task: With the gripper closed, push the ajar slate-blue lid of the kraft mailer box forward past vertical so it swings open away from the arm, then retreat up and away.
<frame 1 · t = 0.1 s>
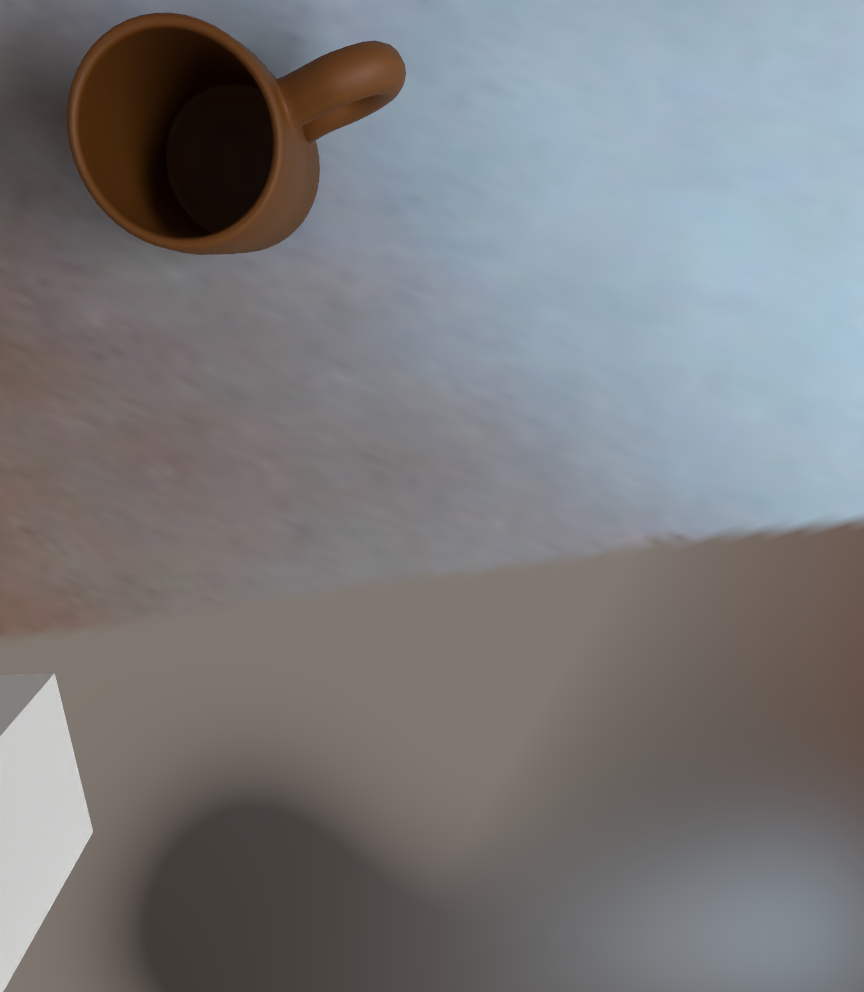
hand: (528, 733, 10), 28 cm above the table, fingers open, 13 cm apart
mug: (285, 149, 33), on the table
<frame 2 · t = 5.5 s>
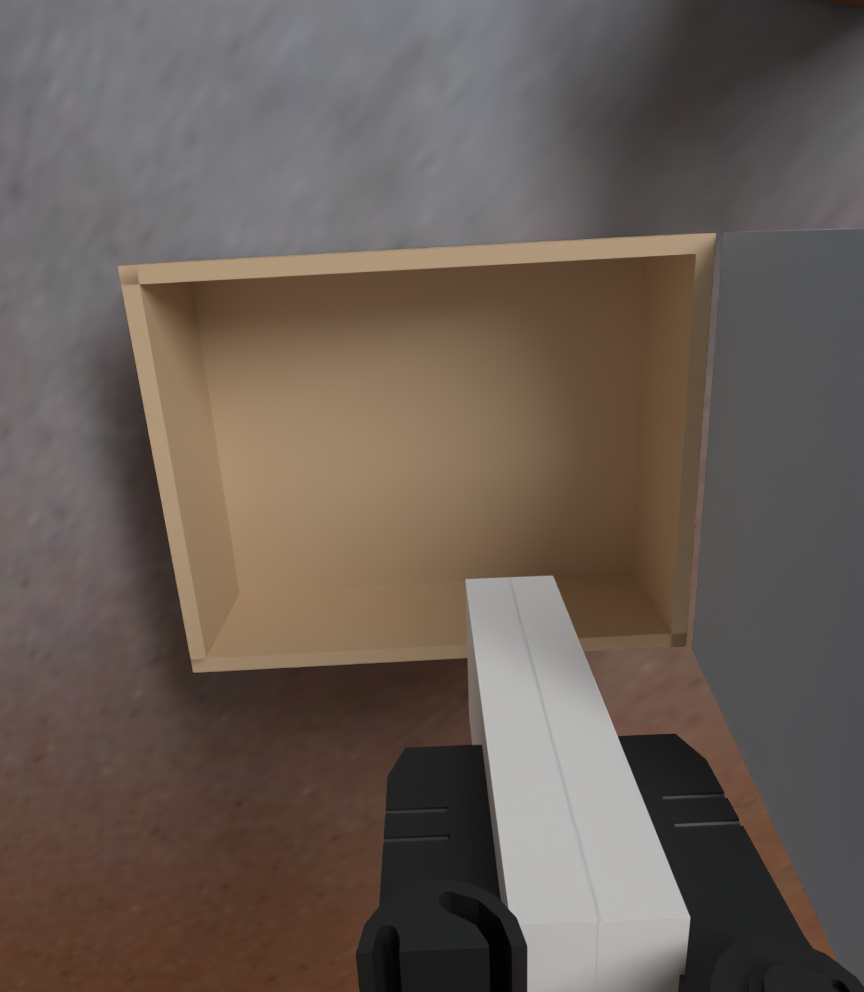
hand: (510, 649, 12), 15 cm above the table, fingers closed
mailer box: (427, 432, 26), on the table
lid: (781, 590, 14), point 13 cm above the table, hinge at 84.0°, touching gripper
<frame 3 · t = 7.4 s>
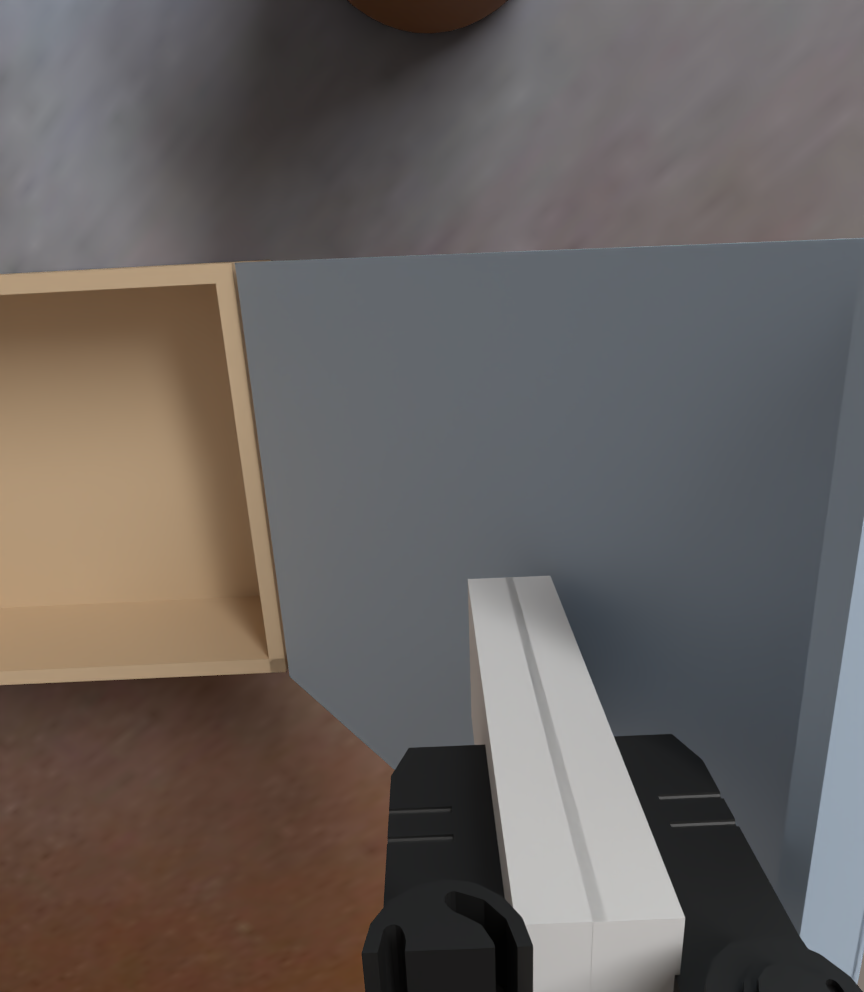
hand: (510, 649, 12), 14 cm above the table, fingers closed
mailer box: (71, 454, 26), on the table
lid: (413, 591, 14), point 12 cm above the table, hinge at 127.9°, touching gripper
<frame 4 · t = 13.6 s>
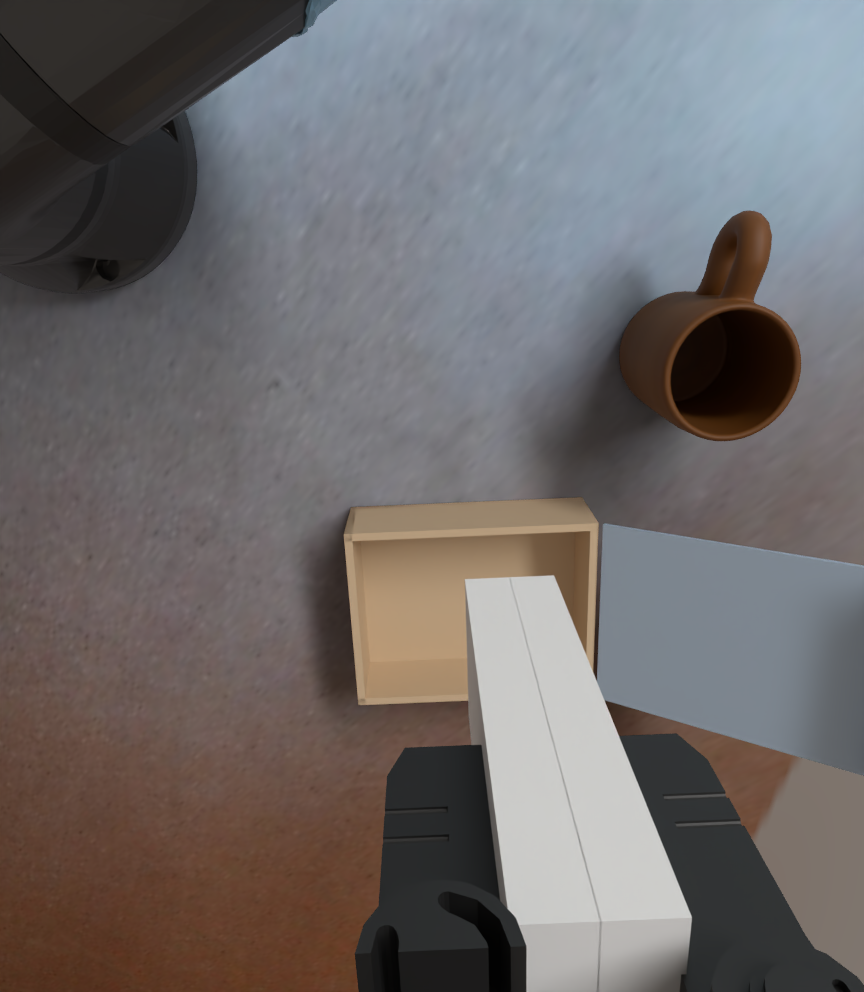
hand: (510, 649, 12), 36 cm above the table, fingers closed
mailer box: (468, 584, 52), on the table
mug: (680, 315, 47), on the table
lid: (732, 652, 42), point 10 cm above the table, hinge at 147.4°
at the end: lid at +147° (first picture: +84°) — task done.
